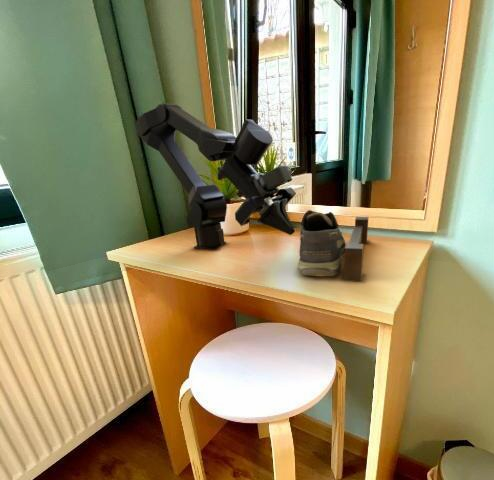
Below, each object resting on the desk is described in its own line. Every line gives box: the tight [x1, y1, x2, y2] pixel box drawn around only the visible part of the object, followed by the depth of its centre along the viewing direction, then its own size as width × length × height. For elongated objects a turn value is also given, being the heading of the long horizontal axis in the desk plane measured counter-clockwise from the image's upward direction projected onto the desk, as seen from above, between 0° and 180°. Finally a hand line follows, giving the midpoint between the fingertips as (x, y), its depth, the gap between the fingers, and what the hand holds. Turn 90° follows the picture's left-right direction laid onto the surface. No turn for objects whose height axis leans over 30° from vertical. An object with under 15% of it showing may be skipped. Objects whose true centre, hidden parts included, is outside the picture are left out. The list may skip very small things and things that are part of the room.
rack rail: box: [343, 216, 369, 282], centre depth 68 cm, size 3×28×6 cm, turn 164°
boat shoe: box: [297, 209, 347, 277], centre depth 69 cm, size 11×29×11 cm, turn 175°
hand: (292, 233), depth 67 cm, fingers closed
